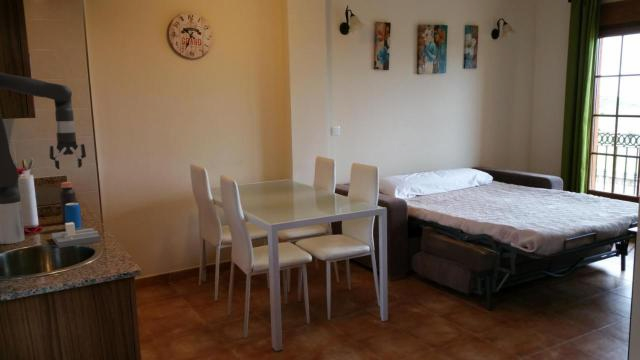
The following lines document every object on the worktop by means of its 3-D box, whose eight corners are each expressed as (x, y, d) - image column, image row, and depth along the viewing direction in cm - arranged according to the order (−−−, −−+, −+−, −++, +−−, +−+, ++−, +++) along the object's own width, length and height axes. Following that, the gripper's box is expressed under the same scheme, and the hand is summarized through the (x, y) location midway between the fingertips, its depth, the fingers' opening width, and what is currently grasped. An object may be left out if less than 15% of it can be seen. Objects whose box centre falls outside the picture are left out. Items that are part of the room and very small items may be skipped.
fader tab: (67, 236, 219) (66, 224, 218) (66, 234, 222) (65, 223, 222) (75, 235, 221) (74, 223, 220) (73, 233, 224) (72, 222, 223)
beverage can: (84, 227, 247) (82, 202, 246) (76, 230, 241) (74, 205, 239) (71, 227, 248) (69, 202, 246) (63, 230, 242) (61, 205, 240)
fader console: (59, 247, 212) (58, 239, 212) (52, 238, 227) (51, 231, 226) (100, 241, 221) (99, 233, 221) (91, 233, 236) (90, 225, 235)
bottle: (59, 223, 256) (55, 183, 253) (69, 220, 262) (66, 181, 259) (70, 224, 254) (67, 183, 251) (80, 221, 260) (77, 181, 257)
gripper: (49, 132, 220) (52, 170, 222) (85, 131, 228) (88, 167, 230) (46, 132, 226) (49, 168, 228) (81, 130, 234) (84, 166, 236)
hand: (69, 168), depth 229 cm, fingers open, 8 cm apart
